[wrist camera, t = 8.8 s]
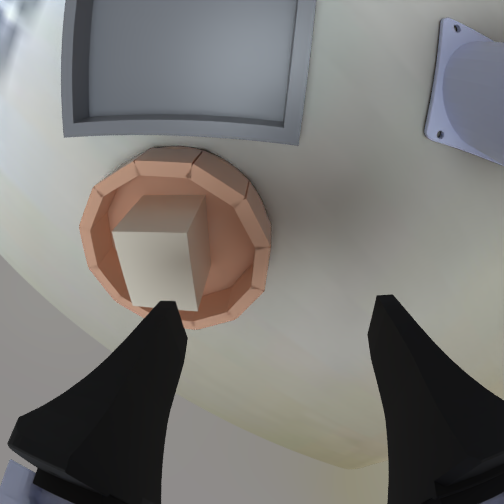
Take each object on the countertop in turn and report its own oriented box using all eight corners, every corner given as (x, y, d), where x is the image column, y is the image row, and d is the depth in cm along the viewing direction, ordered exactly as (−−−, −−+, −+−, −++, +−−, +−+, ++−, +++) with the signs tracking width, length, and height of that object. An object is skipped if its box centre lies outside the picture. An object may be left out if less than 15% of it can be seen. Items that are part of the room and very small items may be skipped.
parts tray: (316, -56, 10) (322, -71, 8) (295, 135, 16) (298, 145, 14) (94, -42, 10) (74, -51, 8) (84, 127, 16) (63, 137, 14)
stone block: (205, 194, 18) (186, 232, 14) (211, 264, 21) (197, 311, 17) (143, 195, 18) (111, 231, 14) (155, 261, 21) (132, 305, 17)
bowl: (280, 154, 17) (281, 171, 14) (259, 306, 23) (257, 337, 21) (94, 145, 17) (68, 160, 14) (116, 287, 23) (101, 313, 21)
